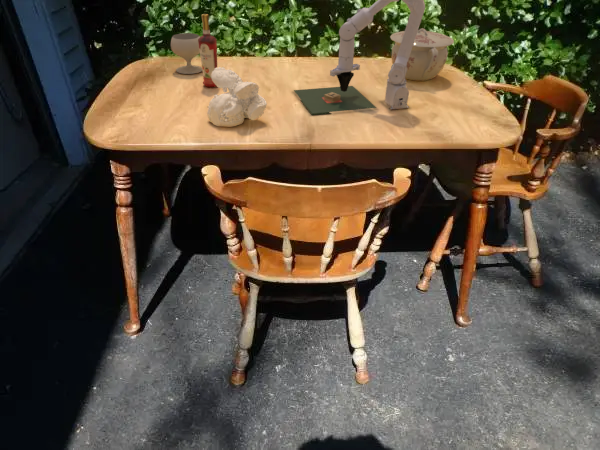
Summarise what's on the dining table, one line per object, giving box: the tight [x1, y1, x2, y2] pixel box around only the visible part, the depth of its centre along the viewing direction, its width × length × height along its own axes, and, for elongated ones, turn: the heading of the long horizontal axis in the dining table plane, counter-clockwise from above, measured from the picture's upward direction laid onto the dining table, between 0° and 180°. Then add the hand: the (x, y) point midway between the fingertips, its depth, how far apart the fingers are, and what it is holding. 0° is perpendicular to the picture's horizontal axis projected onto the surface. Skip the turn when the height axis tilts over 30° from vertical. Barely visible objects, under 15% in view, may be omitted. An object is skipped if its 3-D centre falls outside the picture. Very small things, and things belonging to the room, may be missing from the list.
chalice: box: [170, 32, 203, 75], centre depth 212 cm, size 14×14×15 cm
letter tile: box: [324, 92, 340, 103], centre depth 186 cm, size 4×4×2 cm
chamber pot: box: [389, 27, 455, 82], centre depth 210 cm, size 28×28×21 cm
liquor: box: [198, 13, 218, 88], centre depth 192 cm, size 7×7×28 cm
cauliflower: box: [206, 66, 268, 128], centre depth 167 cm, size 19×20×20 cm
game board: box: [293, 85, 377, 116], centre depth 188 cm, size 26×26×1 cm
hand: (343, 90), depth 189 cm, fingers closed
